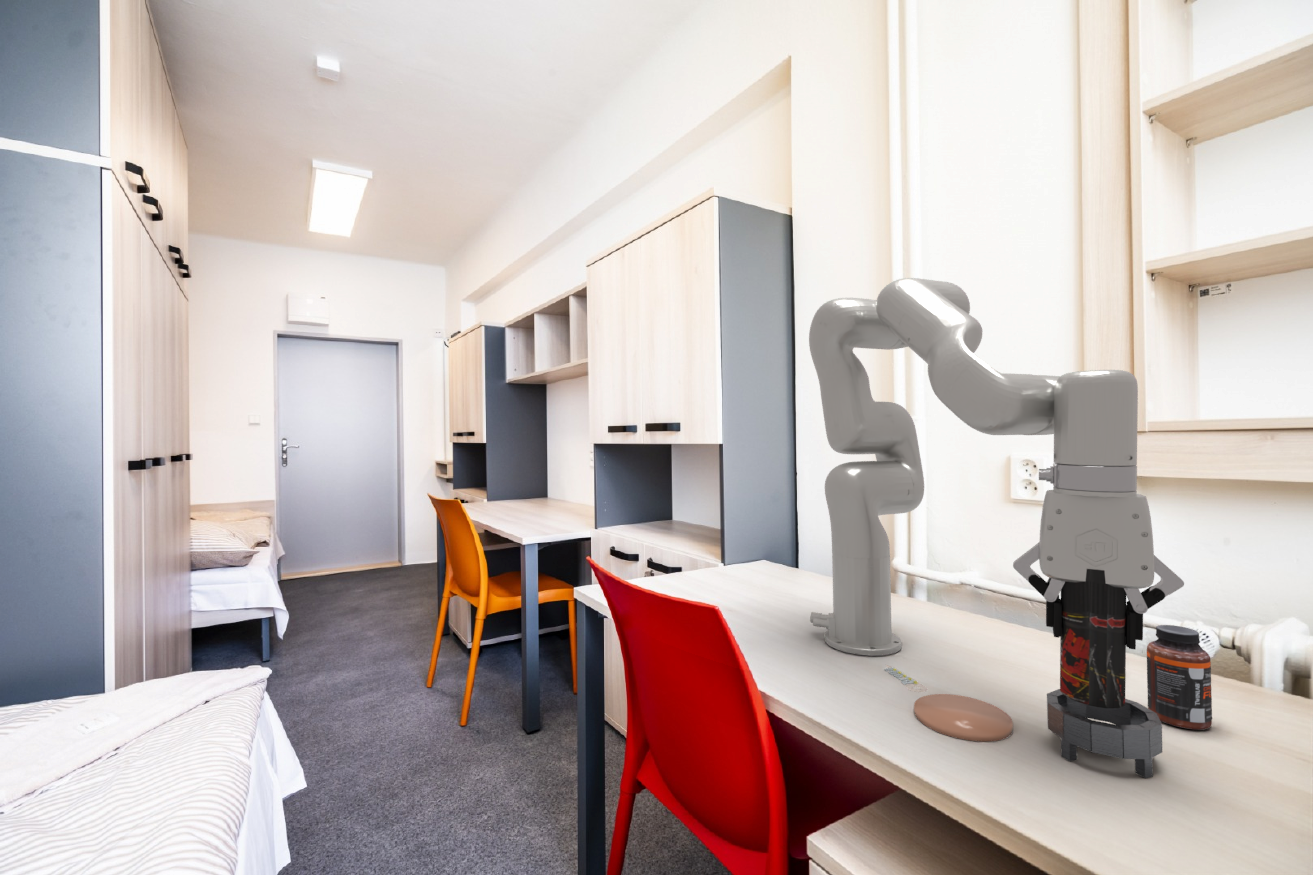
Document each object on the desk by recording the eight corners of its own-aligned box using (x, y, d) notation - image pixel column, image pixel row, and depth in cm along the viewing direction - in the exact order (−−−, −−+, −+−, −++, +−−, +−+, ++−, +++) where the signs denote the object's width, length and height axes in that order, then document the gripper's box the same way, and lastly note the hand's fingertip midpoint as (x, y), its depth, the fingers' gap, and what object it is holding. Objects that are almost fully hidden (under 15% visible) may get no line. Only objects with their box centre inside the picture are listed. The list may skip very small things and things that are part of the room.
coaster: (907, 726, 71) (907, 720, 72) (920, 693, 81) (920, 687, 81) (1012, 750, 66) (1012, 743, 66) (1013, 711, 75) (1013, 705, 75)
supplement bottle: (1219, 737, 68) (1216, 640, 68) (1152, 724, 71) (1150, 632, 71) (1205, 716, 73) (1202, 626, 73) (1144, 705, 76) (1141, 619, 76)
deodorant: (1137, 710, 62) (1139, 571, 62) (1075, 705, 64) (1076, 569, 63) (1106, 686, 68) (1107, 559, 68) (1050, 682, 69) (1051, 557, 69)
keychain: (932, 688, 82) (913, 691, 81) (932, 692, 82) (913, 695, 81) (886, 661, 92) (869, 663, 91) (886, 665, 92) (870, 667, 91)
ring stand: (1050, 761, 63) (1049, 715, 63) (1046, 723, 72) (1045, 682, 72) (1170, 788, 58) (1169, 738, 58) (1151, 744, 67) (1150, 700, 67)
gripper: (1003, 480, 67) (1002, 635, 67) (1205, 487, 58) (1203, 667, 58) (1005, 475, 73) (1004, 617, 74) (1187, 481, 64) (1185, 643, 64)
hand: (1092, 637), depth 66 cm, fingers closed on deodorant, 6 cm apart
